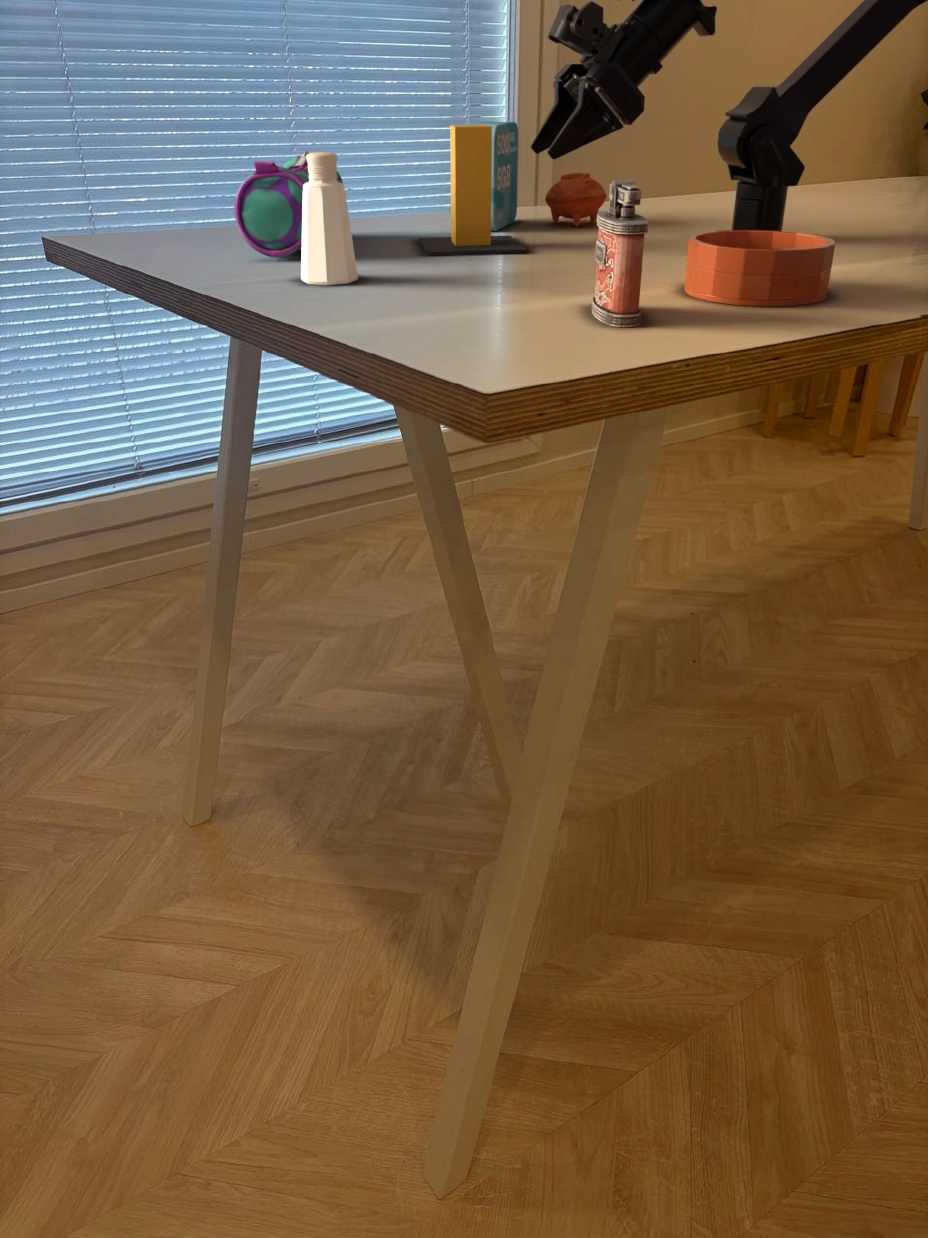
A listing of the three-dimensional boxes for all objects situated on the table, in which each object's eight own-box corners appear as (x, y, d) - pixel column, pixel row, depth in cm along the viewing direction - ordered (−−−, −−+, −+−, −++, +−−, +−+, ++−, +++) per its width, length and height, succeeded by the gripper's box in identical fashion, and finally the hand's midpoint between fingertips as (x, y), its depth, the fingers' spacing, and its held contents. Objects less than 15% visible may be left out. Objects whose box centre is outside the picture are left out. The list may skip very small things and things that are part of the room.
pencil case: (276, 234, 123) (268, 148, 118) (347, 234, 122) (342, 148, 118) (236, 261, 104) (225, 161, 100) (319, 261, 104) (312, 161, 99)
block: (485, 240, 115) (486, 124, 109) (490, 245, 111) (491, 126, 106) (451, 240, 114) (450, 124, 109) (455, 246, 111) (454, 126, 105)
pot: (615, 224, 127) (606, 168, 124) (555, 240, 128) (545, 185, 124) (605, 214, 134) (596, 161, 130) (548, 230, 135) (538, 177, 131)
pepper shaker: (326, 287, 91) (317, 155, 86) (289, 280, 95) (278, 153, 89) (369, 279, 95) (364, 152, 90) (332, 273, 98) (325, 150, 93)
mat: (418, 240, 117) (418, 237, 117) (509, 238, 119) (509, 235, 118) (427, 255, 108) (427, 251, 108) (527, 252, 109) (527, 249, 109)
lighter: (584, 306, 83) (592, 176, 79) (624, 305, 84) (633, 176, 79) (604, 327, 76) (613, 186, 72) (648, 326, 77) (660, 185, 72)
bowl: (719, 275, 96) (725, 226, 94) (845, 289, 89) (854, 236, 87) (660, 295, 87) (665, 241, 85) (794, 312, 81) (803, 254, 79)
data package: (494, 232, 123) (496, 124, 118) (460, 231, 125) (459, 124, 119) (517, 220, 134) (519, 121, 128) (484, 219, 135) (485, 120, 129)
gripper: (576, -20, 110) (478, 94, 114) (622, -37, 94) (505, 96, 98) (639, 61, 115) (543, 167, 119) (693, 59, 99) (579, 181, 103)
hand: (541, 153), depth 109 cm, fingers open, 9 cm apart
